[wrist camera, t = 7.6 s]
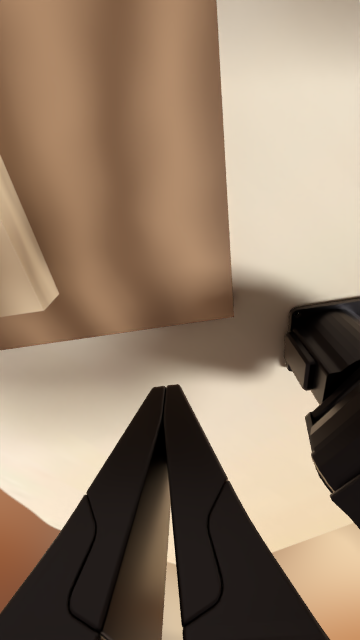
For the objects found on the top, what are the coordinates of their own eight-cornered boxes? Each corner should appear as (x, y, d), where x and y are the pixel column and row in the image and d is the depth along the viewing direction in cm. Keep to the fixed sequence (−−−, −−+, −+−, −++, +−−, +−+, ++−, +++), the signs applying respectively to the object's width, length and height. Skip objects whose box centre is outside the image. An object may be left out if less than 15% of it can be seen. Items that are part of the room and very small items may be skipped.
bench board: (208, -35, 12) (212, -60, 11) (230, 307, 21) (233, 316, 20) (-257, 68, 13) (-303, 57, 12) (-49, 348, 22) (-62, 359, 21)
